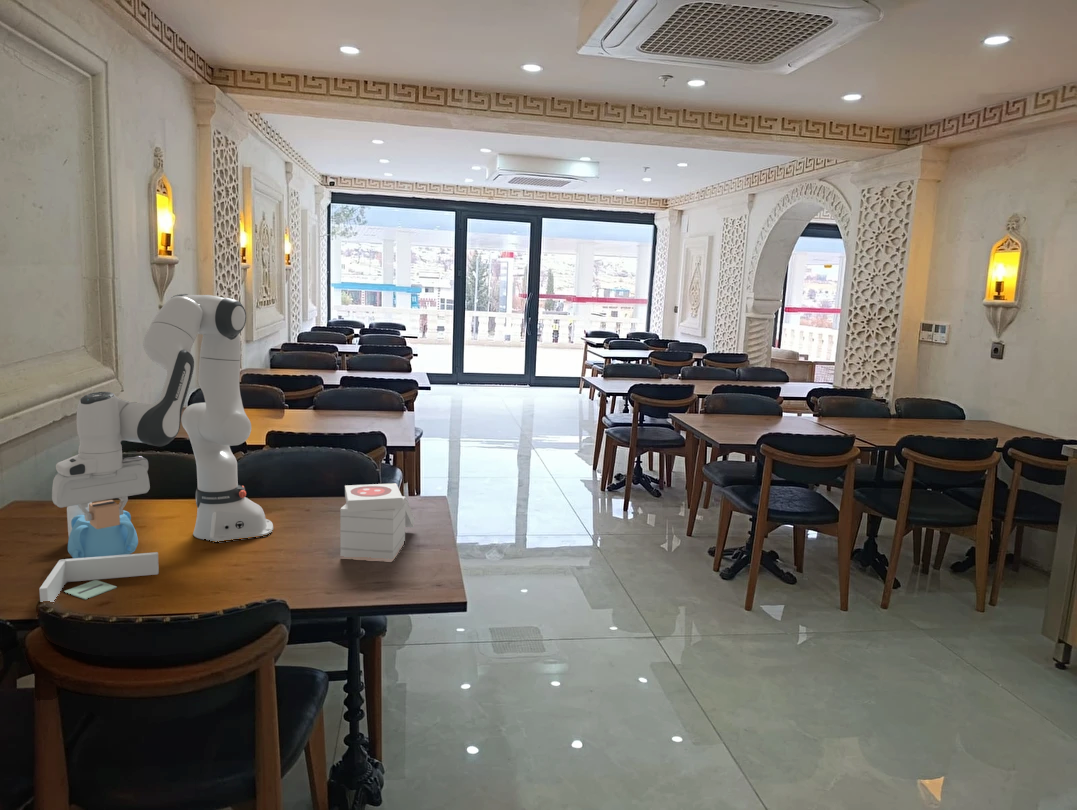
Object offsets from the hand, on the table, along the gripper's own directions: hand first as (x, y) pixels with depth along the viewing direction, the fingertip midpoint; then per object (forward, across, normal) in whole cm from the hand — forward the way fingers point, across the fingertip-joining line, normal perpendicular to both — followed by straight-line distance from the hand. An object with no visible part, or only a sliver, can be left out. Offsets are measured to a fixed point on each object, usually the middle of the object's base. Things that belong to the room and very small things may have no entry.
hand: (104, 517), depth 177 cm
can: (+19, -6, -40) cm, 45 cm away
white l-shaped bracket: (+19, 0, -2) cm, 19 cm away
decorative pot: (+19, -6, -24) cm, 32 cm away
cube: (+2, 0, 0) cm, 2 cm away
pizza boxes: (+19, -68, +15) cm, 72 cm away
